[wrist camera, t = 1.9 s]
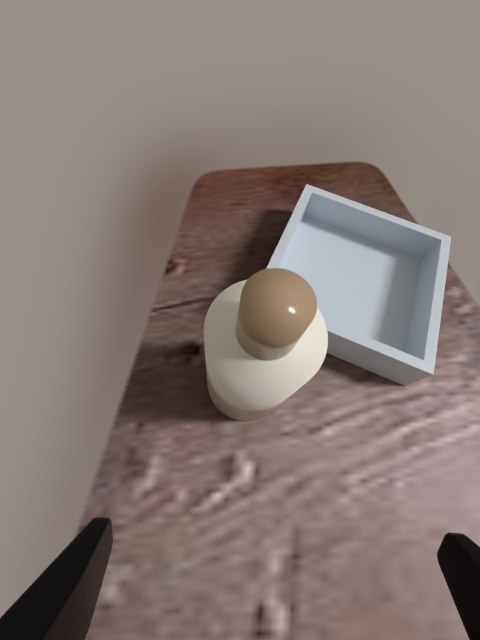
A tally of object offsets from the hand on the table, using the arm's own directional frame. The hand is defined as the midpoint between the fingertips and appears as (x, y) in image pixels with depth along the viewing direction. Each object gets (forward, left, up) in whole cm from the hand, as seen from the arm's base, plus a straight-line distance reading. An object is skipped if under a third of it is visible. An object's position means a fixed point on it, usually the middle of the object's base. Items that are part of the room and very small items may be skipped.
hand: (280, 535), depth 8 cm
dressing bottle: (+7, +3, -13) cm, 15 cm away
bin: (+19, -2, -13) cm, 23 cm away
